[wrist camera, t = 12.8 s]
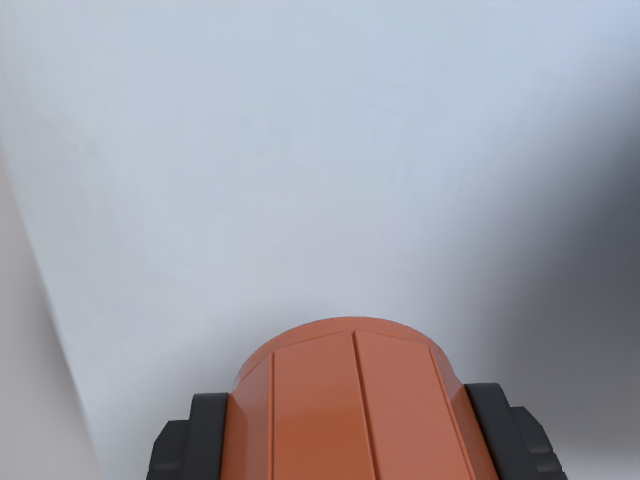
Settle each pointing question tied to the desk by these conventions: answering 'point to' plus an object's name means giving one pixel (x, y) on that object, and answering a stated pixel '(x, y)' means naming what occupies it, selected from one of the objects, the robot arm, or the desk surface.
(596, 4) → the desk surface
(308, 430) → the faceted orange cup
